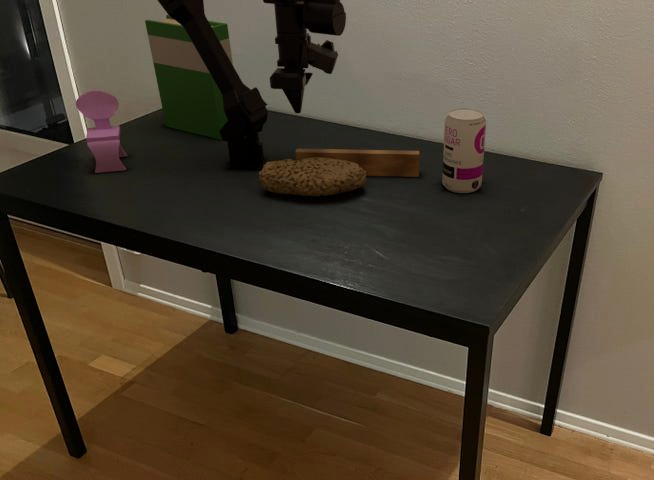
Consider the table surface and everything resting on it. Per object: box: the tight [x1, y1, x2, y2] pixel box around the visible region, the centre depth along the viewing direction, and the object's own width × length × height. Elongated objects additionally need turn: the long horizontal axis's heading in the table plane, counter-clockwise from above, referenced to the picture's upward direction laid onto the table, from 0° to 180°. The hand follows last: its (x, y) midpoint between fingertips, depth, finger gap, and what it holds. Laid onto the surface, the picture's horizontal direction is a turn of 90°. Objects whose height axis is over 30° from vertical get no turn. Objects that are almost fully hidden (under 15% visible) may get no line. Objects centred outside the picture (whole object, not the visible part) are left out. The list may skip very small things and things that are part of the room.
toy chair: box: [75, 89, 128, 174], centre depth 150 cm, size 8×9×15 cm
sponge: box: [258, 157, 368, 197], centre depth 143 cm, size 13×8×20 cm
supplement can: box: [441, 107, 487, 194], centre depth 143 cm, size 8×8×15 cm
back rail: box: [294, 148, 420, 178], centre depth 151 cm, size 26×2×5 cm, turn 89°
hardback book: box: [144, 14, 234, 140], centre depth 166 cm, size 18×7×24 cm, turn 61°
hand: (298, 112), depth 144 cm, fingers closed
